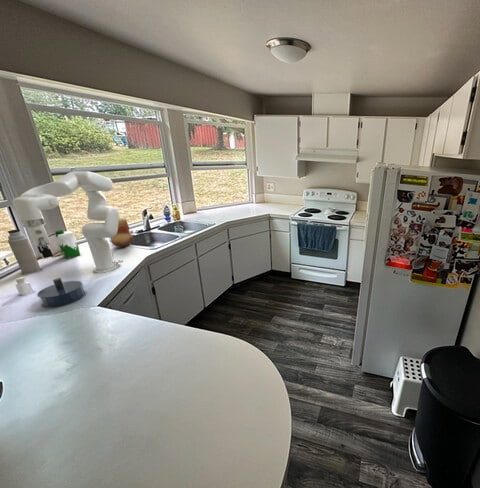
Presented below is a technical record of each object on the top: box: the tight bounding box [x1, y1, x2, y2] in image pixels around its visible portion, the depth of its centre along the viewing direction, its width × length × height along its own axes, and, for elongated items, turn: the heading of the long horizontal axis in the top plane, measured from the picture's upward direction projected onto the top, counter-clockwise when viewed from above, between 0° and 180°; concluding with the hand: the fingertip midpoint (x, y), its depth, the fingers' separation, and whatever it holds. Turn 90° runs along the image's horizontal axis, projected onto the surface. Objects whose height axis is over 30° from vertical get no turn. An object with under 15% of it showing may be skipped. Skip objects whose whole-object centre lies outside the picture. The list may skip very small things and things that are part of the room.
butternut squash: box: [110, 215, 134, 248], centre depth 200 cm, size 14×13×25 cm
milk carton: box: [54, 229, 81, 259], centre depth 182 cm, size 9×9×20 cm
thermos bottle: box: [7, 228, 41, 275], centre depth 156 cm, size 8×8×28 cm
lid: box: [36, 277, 83, 299], centre depth 130 cm, size 17×17×7 cm
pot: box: [40, 285, 86, 308], centre depth 132 cm, size 16×16×6 cm
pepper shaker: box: [14, 276, 34, 296], centre depth 136 cm, size 4×4×10 cm
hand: (46, 254), depth 127 cm, fingers open, 9 cm apart
